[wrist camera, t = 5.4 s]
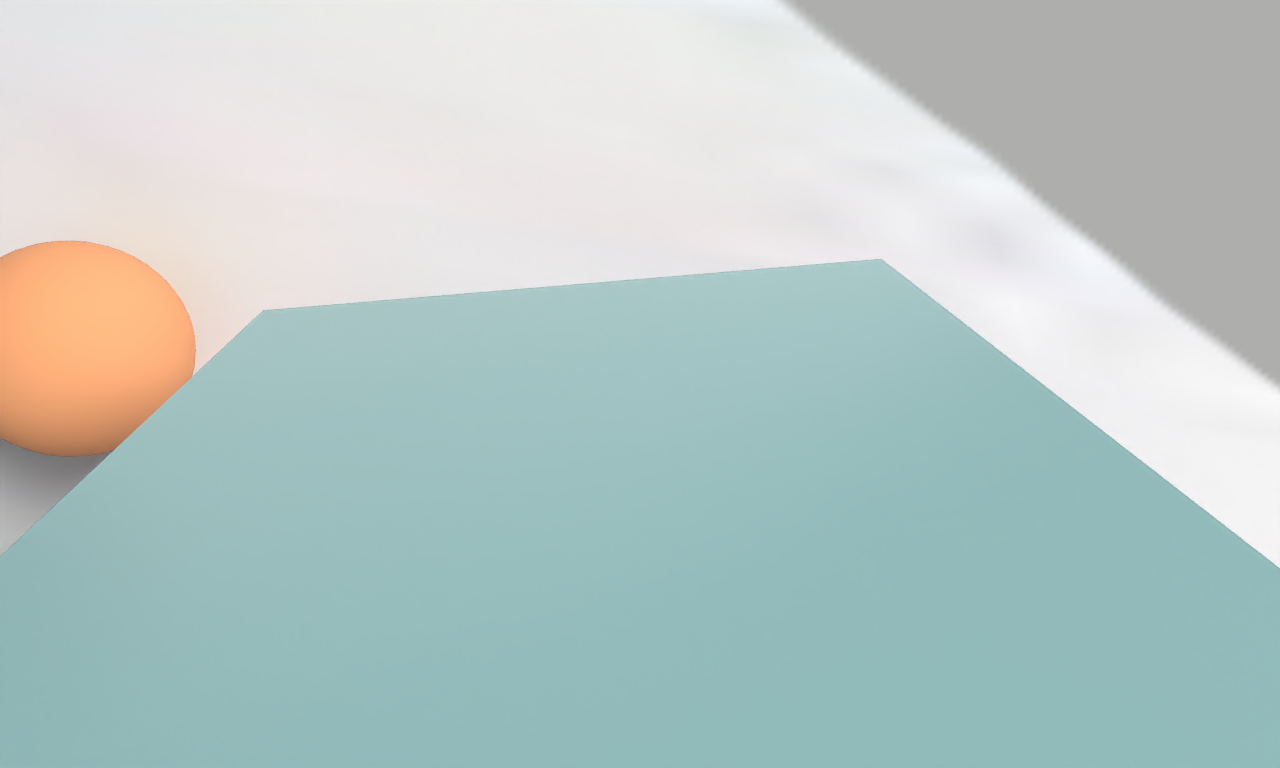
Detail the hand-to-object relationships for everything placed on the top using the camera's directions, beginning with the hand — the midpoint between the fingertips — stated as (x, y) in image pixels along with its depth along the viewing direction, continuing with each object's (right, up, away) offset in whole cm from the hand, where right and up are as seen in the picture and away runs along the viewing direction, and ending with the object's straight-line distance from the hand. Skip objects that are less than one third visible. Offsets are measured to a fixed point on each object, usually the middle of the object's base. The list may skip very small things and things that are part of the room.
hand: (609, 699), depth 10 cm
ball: (-13, +4, +12) cm, 18 cm away
